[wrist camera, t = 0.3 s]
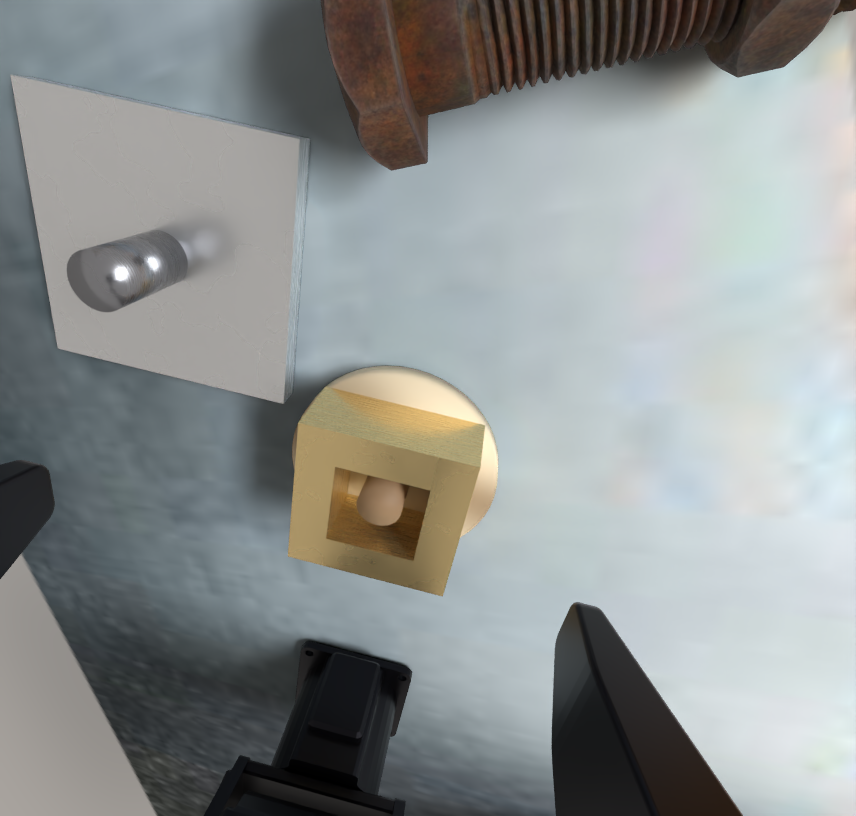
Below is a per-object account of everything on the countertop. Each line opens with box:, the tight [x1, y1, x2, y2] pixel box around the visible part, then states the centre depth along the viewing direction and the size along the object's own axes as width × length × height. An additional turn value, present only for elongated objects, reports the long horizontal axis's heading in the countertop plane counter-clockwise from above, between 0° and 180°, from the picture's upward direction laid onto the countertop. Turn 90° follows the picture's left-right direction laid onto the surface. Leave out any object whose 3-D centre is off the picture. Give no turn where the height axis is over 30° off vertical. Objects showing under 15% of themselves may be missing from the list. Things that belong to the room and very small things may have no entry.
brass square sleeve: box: [288, 386, 485, 596], centre depth 21 cm, size 7×7×3 cm
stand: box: [292, 366, 498, 537], centre depth 22 cm, size 9×9×4 cm
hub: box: [11, 75, 310, 404], centre depth 19 cm, size 10×10×4 cm
